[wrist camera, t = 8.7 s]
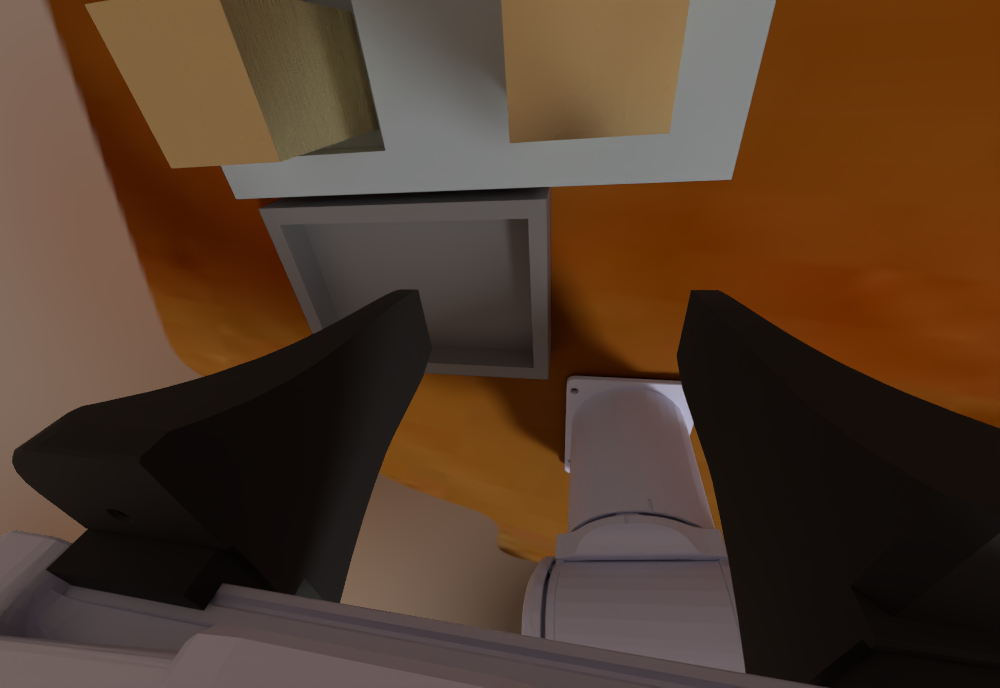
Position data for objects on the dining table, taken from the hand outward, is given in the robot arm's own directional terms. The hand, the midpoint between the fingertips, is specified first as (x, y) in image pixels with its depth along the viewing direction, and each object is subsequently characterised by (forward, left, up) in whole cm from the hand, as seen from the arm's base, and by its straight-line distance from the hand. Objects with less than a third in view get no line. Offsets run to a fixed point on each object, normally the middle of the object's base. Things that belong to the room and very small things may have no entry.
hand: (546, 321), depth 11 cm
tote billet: (+6, +10, -9) cm, 15 cm away
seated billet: (+6, -1, -9) cm, 11 cm away
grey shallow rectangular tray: (-4, +8, -10) cm, 13 cm away
